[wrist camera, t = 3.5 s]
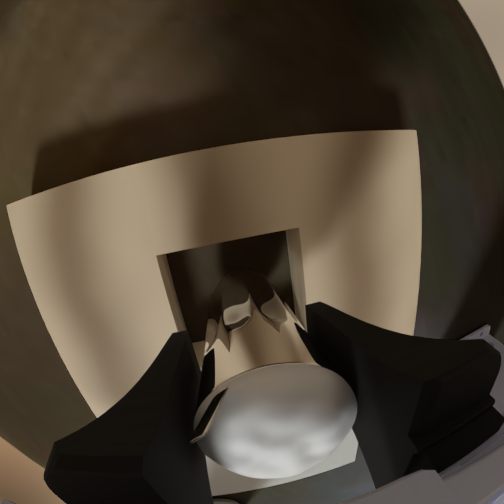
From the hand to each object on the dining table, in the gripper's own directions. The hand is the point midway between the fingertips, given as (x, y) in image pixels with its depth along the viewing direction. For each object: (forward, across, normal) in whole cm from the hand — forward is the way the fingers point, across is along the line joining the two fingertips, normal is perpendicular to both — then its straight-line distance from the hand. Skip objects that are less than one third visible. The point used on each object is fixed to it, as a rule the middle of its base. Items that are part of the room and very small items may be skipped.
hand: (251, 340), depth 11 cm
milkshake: (+4, 0, 0) cm, 4 cm away
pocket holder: (+5, 0, 0) cm, 5 cm away
